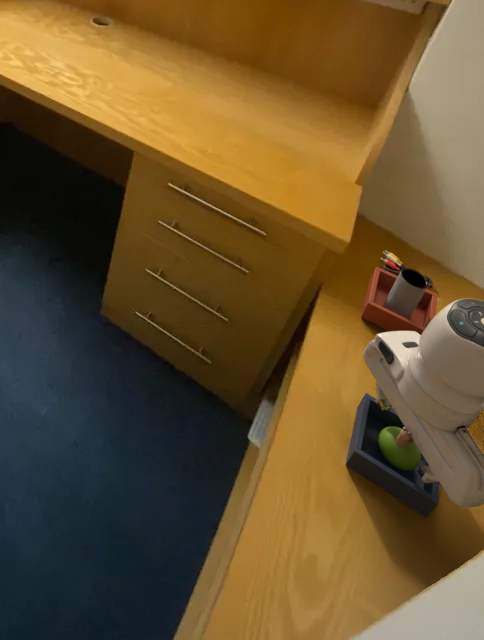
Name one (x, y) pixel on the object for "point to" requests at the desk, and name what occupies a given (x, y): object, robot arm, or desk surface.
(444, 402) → the robot arm
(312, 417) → the desk surface
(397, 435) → the snail figurine
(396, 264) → the composite cable
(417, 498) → the slate bin
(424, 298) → the terracotta bin
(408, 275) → the grey cylindrical cup
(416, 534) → the desk surface
